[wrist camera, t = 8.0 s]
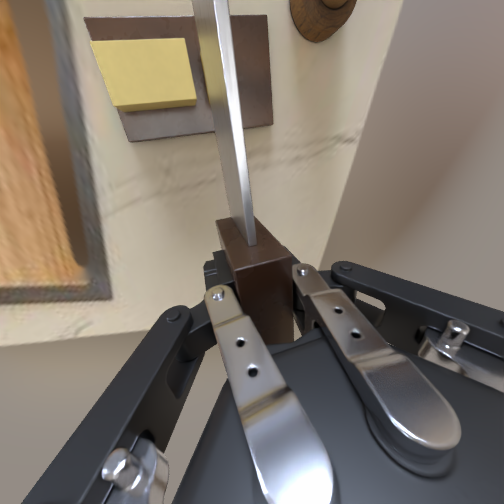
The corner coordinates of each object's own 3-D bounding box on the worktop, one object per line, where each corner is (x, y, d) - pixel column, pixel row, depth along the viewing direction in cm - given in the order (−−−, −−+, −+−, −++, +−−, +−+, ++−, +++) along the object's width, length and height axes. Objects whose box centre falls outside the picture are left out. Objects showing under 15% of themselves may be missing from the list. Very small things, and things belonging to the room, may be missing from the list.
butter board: (270, 125, 24) (273, 124, 23) (131, 142, 21) (128, 142, 20) (263, 20, 20) (267, 14, 19) (87, 23, 17) (82, 16, 16)
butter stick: (195, 105, 21) (196, 98, 18) (123, 112, 19) (113, 106, 17) (184, 53, 19) (184, 37, 16) (103, 57, 17) (89, 40, 15)
